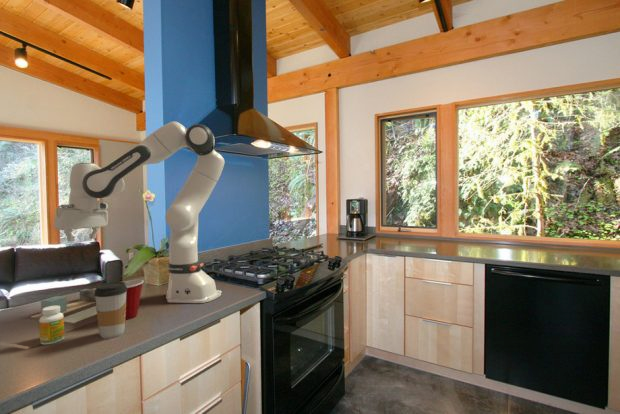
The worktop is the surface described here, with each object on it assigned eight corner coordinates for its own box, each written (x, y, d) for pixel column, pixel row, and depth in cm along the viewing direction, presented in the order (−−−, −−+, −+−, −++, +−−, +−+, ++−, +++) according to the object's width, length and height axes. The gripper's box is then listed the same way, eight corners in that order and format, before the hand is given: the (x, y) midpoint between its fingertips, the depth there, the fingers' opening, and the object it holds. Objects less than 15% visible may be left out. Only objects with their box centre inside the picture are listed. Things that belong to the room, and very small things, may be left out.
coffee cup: (123, 338, 90) (122, 287, 90) (90, 342, 88) (89, 290, 88) (131, 326, 98) (130, 280, 98) (101, 330, 96) (100, 282, 96)
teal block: (66, 310, 111) (66, 297, 111) (51, 316, 106) (51, 301, 106) (56, 309, 112) (56, 296, 112) (41, 314, 107) (40, 300, 107)
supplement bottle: (50, 346, 86) (49, 311, 86) (35, 344, 87) (33, 310, 87) (69, 337, 91) (68, 305, 91) (54, 335, 92) (53, 303, 92)
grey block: (126, 304, 119) (125, 292, 119) (74, 324, 100) (73, 310, 100) (109, 302, 121) (109, 290, 121) (56, 322, 102) (55, 308, 102)
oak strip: (101, 301, 122) (101, 290, 122) (47, 320, 103) (46, 307, 103) (86, 299, 125) (86, 288, 124) (30, 318, 105) (29, 305, 105)
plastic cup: (122, 310, 112) (121, 278, 112) (151, 311, 112) (150, 278, 111) (100, 323, 101) (99, 287, 101) (132, 323, 101) (131, 287, 101)
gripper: (64, 204, 109) (63, 243, 109) (111, 204, 129) (110, 237, 129) (49, 204, 110) (48, 242, 110) (98, 204, 130) (97, 236, 130)
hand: (82, 239), depth 120 cm, fingers open, 8 cm apart
